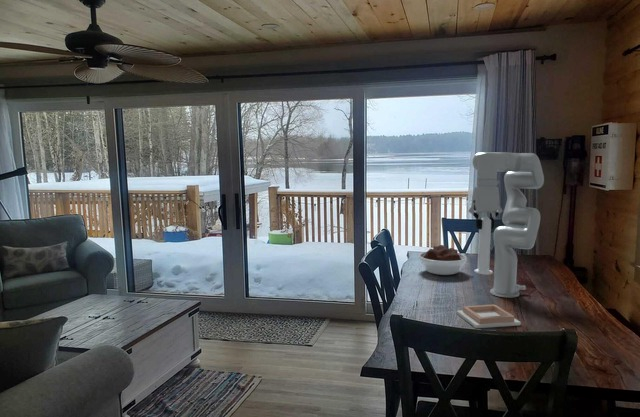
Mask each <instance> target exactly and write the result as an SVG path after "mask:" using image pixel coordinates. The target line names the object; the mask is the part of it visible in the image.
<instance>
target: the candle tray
mask: <svg viewBox="0 0 640 417" xmlns="http://www.w3.org/2000/svg"><path fill="white" fill-rule="evenodd" d="M456 314H457V315H458V316H459V317H461V318H462V319H463V320H464V321H466V322H467V323H468V324H469V325H470V326H472V327H474V328H475V329H482V328H483V329H484V328H498V327H499V328H501V327H513V326H521V323H522V322H521V321H519V320H518V319H517V318H516V317H515V315H513V314H511V312H508V311H506V309H505V310H504V308H502V307H500V306H498V305H497V304H483V305H481V304H479V305H478V304H477V305H465V306H462V309H461V310H460V309H459V310H456Z"/></svg>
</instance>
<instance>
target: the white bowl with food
mask: <svg viewBox="0 0 640 417" xmlns="http://www.w3.org/2000/svg"><path fill="white" fill-rule="evenodd" d="M418 260H419V261H420V263H421V264H422V265H423V268H424V270H425V271H426V272H428V273H430V274H434V275H440V276H451V275H455V274H458V273H459V272H460V271H461V268H462V267H463V266H464V265H465V264H466V262H467V260H468V259H467V256H466V255H464V254H462V253H458V250H457V249H455V248H453V247H449V248H448V247H447V246H445V245H443V244H440V245H438V246H435V245H434V246H433V248H429V249H428V250H427V251H424V252H421V253H419V255H418Z"/></svg>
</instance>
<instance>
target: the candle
mask: <svg viewBox="0 0 640 417" xmlns="http://www.w3.org/2000/svg"><path fill="white" fill-rule="evenodd" d="M487 213H488V212H484V215H483V217H481V219H482V229H478V246H477V248H478V250H477V268H476V269H474V271H473V272H474V273H475V274H479V275H492V274H494V272H493V270H491V269H490V263H491V262H490V261H491V259H490V258H491V238H492V235H491V234H492V229H491V220H490V219H489V218H490V217H488V214H487Z"/></svg>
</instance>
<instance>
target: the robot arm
mask: <svg viewBox="0 0 640 417" xmlns="http://www.w3.org/2000/svg"><path fill="white" fill-rule="evenodd" d="M472 165H473V168H474V169H475V170H476V186H474V187H473V192H472V197H471V206H470V207H469V209H468V212H469V213H470V214H471V215H472V216H473V217H474V218H475V219H476V220H475V222H476V223H475V227H476V229H478V230H479V229H482V219H481V218H482V216H483V212H484V213H485V212H486V213H488V214H489V217H488V218H489V219H490V220H491V230H493V229H494V226H495V220H496V218H497V217H498V216H499V215H500V214H501V213H503V214H502V217H501V219H502V220H501V221H502V223H503V225H500V226H497V227H496V228H495V229H494V231H493V233H492V234H493V235H492V236H493V243H494V267H493V268H494V269H493V270H494V272H493V287H492V288H491V289H489V290H490V291H489V293H490V294H491V295H492V296H496V297H498V298H499V297H500V298H505V299H507V298H509V299H514V298H517V297H519V296H520V291H523V290H525V291H526V290H527V286H526V285H520V284H517V270H518V255H517V253H516V251H515V250H514V249H520V250H521V249H522V250H531V249H532V248H534V246H535V245H536V239H537V236H538V232H539V229H540V223H541V212H540V211H539V209H537V208H535V207H530V206H529V207H527V202H528V200H527V198H526V196H525V194H524V193H523V192H522V191H521V190H520V189H523V190H525V189H528V190H530V189H531V190H539V189H541V188H542V187H543V186H544V183H545V175H544V172H543V168H542V164H541V161H540V158H539V156H538V155H537V154H536V153H533V152H521V153H520V152H519V153H518V152H507V151H506V152H505V151H502V152H499V151H497V152H494V151H493V152H492V151H490V152H487V151H486V152H485V151H484V152H483V151H482V152H477V153H475V154H474V156H473V159H472ZM498 172H499V173H500V172H501V173H502V172H503V173H504V172H506V173H504V177H503V182H504V188H505V192H506V196H507V198H506V203H505V207H504V209H503V208H502V207H501V205H500V202H501V201H500V191H499V187H498V185H499V184H500V183H501V182H500V180H499V179H498Z"/></svg>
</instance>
